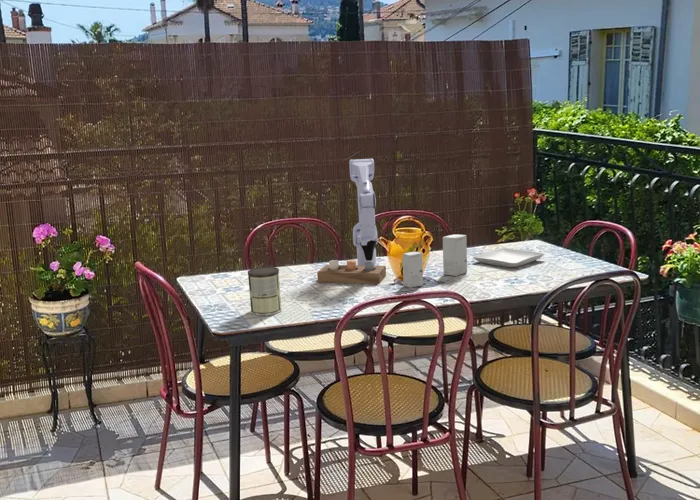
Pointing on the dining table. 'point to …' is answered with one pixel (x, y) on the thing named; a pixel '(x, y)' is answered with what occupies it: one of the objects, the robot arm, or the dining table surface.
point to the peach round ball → (351, 265)
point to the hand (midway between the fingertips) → (369, 260)
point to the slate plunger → (369, 265)
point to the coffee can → (264, 290)
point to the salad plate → (508, 257)
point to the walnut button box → (351, 275)
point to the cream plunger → (334, 265)
